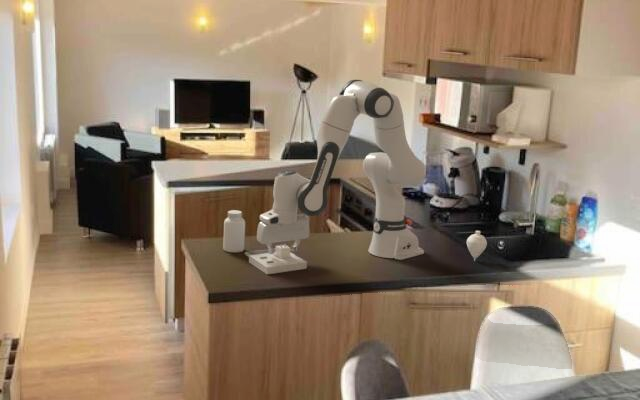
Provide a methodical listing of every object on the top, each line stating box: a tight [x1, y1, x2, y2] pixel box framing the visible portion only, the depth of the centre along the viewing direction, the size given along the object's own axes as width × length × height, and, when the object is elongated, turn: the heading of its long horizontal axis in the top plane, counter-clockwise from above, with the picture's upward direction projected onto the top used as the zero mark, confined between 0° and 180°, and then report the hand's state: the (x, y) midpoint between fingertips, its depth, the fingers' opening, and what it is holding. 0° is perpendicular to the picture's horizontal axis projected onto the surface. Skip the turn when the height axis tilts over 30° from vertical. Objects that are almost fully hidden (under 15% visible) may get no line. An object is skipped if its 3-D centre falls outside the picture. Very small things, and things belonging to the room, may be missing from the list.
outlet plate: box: [248, 251, 308, 275], centre depth 243 cm, size 16×14×3 cm
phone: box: [244, 248, 276, 258], centre depth 253 cm, size 13×7×2 cm, turn 123°
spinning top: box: [466, 230, 488, 262], centre depth 261 cm, size 8×8×12 cm
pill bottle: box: [222, 209, 246, 254], centre depth 256 cm, size 8×8×15 cm
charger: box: [275, 242, 292, 259], centre depth 245 cm, size 4×4×7 cm
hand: (282, 252), depth 245 cm, fingers open, 8 cm apart
